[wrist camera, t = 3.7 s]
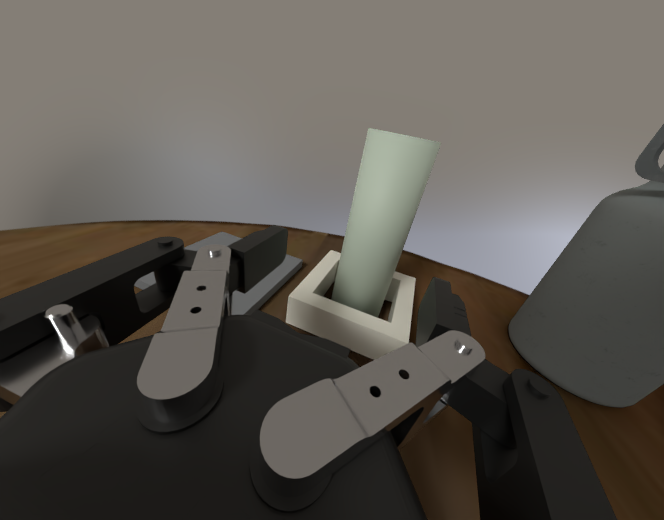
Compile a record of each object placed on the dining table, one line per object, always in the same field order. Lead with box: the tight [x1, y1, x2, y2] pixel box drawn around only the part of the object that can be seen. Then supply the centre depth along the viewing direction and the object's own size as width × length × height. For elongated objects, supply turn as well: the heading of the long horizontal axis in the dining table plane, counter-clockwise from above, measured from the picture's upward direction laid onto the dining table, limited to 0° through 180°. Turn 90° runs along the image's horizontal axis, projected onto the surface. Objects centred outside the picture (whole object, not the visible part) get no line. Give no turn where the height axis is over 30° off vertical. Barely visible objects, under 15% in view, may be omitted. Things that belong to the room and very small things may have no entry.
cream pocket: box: [286, 250, 416, 360], centre depth 24 cm, size 10×10×3 cm
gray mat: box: [134, 232, 303, 316], centre depth 25 cm, size 12×12×1 cm
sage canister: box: [331, 128, 441, 318], centre depth 20 cm, size 5×5×16 cm
